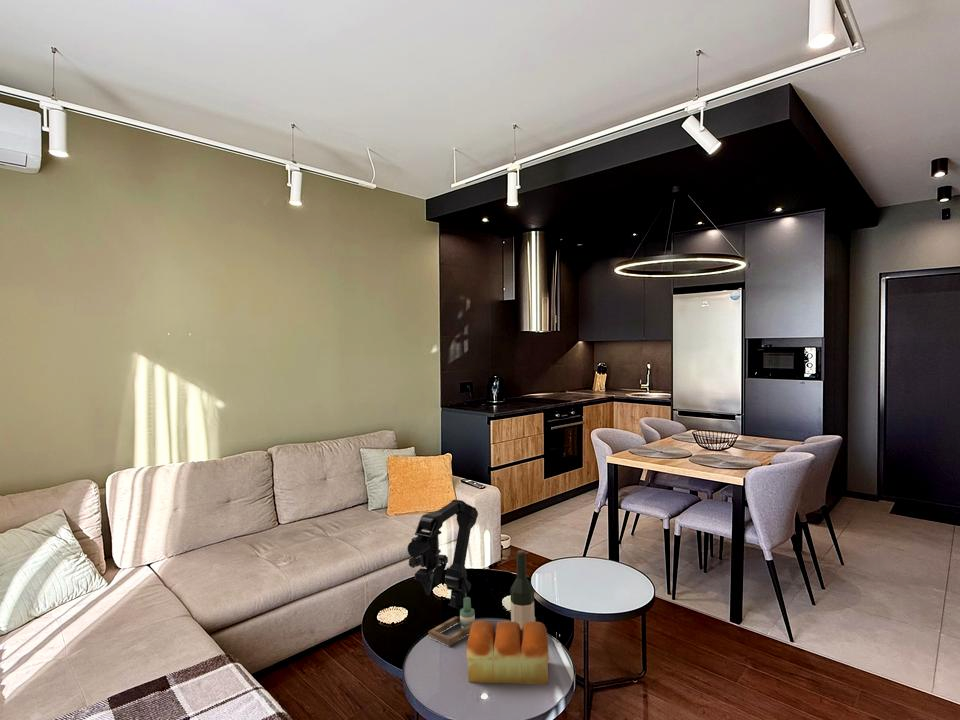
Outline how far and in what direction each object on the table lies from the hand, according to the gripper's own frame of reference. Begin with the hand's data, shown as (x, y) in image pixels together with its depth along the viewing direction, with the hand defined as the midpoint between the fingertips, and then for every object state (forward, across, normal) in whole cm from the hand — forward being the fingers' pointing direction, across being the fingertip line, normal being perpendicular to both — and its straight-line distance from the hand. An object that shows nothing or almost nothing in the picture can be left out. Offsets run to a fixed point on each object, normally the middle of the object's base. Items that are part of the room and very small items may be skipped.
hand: (432, 589), depth 199 cm
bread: (+12, +24, +36) cm, 45 cm away
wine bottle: (+13, +2, +35) cm, 37 cm away
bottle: (+12, -1, +13) cm, 18 cm away
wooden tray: (+12, +6, +10) cm, 17 cm away
